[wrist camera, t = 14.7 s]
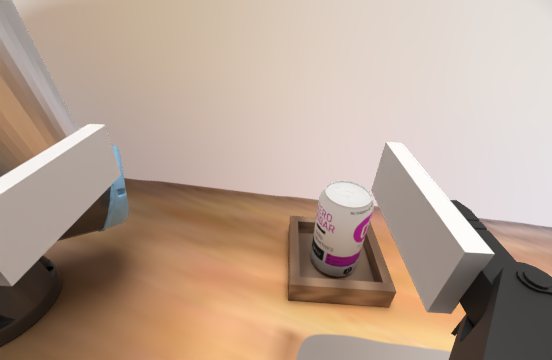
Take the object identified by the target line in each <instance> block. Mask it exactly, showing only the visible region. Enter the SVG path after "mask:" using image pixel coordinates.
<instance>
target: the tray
mask: <svg viewBox="0 0 552 360" xmlns="http://www.w3.org/2000/svg"><path fill="white" fill-rule="evenodd" d="M315 222H316V217H300V216H290V225H289V286H288V300H291V301H305V302H320V303H334V304H349V305H363V306H378V307H389V306H390V304H391V302H392V300H393V298H394V296H395V293H396V290H395V287H394V284H393V282H392V279H391V276H390V274H389V271H388V268H387V266H386V263H385V260H384V258H383V255H382V252H381V250H380V247H379V244H378V242H377V239H376V236H375V234H374V231H373V228H372V226H371V223H370V222H369V226H368V229H367V232H366V235H365V239H364V242H363V245H362V248H361V251H360V255H359V258H358V261H357V264H356V267H355V269H354V270H353V272H351V273H350V274H348V275H346V276H339V277H337V276H331V275H328V274H325V273H323V272H321V271H320V270H319V269H318V268H316V267H315V265H314V264H313V262H312V261H311V255H310V253H311V246H312V240H313V234H314V228H315Z"/></svg>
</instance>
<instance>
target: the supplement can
mask: <svg viewBox="0 0 552 360" xmlns="http://www.w3.org/2000/svg"><path fill="white" fill-rule="evenodd" d="M373 206H374V205H373V202H372V196H371V194H370V192H369V191H368V190H367V189H366V188H365V187H363V186H361V185H359V184H357V183H354V182H350V181H335V182H332V183H330V184H328V185H327V186H326V188H325V189H324V191H323V192H322V193H321V195H320V198H319V204H318V210H317V216H316V222H315V228H314V234H313V240H312V246H311V253H310V255H311V261H312V262H313V264H314V265H315V267H316V268H318V269H319V270H320V271H321V272H323V273H325V274H328V275H331V276H337V277H339V276H346V275H348V274H350V273H351V272H353V270H354V269H355V267H356V264H357V261H358V258H359V255H360V251H361V248H362V245H363V242H364V239H365V235H366V232H367V229H368V226H369V222H370V219H371V216H372V213H373Z"/></svg>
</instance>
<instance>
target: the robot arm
mask: <svg viewBox="0 0 552 360" xmlns="http://www.w3.org/2000/svg"><path fill="white" fill-rule="evenodd" d="M372 193H373V195H374V197H375V199H376V201H377V203H378V206H379V208H380V210H381V212H382V215H383V217H384V219H385V221H386V223H387V226H388V228H389V230H390V232H391V234H392V237H393V239H394V241H395V243H396V245H397V248H398V250H399V252H400V254H401V256H402V259H403V261H404V263H405V265H406V267H407V270H408V272H409V274H410V276H411V278H412V281H413V283H414V285H415V287H416V289H417V292H418V294H419V296H420V298H421V300H422V303H423V305H424V307H425V309H426V311H427V312H433V313H449V314H451V313H452V312H453V310H454V309H455V308H456V306H457V305H458V304H459V302H460V304H461V305H462V307H463V309H464V310H465V312H466V315H465V316H464V318H463V319H462V320H461V321H460V323H459V324H458V325H457V327H456V328H455V329H454V330H453V332H452V333H451V334H453V335H454V336H455V335H456V334H457V336H456V339H455V342H454V345H453V348H452V351H451V354H450V358H449V360H552V277H551V276H550V275H548V274H547V273H545V272H543V271H542V270H540V269H538V268H536V267H534V266H531V265H528V264H525V263H521V262H516V261H515V260H514V258H513V257H512V256H511V255H510V254H509V253H508V252H507V251H506V249H505V248H504V247H503V246H502V245H501V244H500V243H499V242H498V240H497V239H496V238H495V237H494V236H493V235H492V234H491V233H490V232H489V231H487V228H486V227H485V226H484V225H483V224H482V223H481V222H479V219H478V218H477V217H476V216H475V215H474V214H473V213H472V211H471V210H470V209H468V208H467V207H465V206H464V205H462V204H461V203H460V202H458V201H457V200H449V199H448V197H447V196H446V195H445V194H444V193H443V191H442V190H441V189H440V188H439V186H438V185H437V184H436V183H435V182H434V180H433V179H432V178H431V177H430V176H429V174H428V173H427V172H426V171H425V170H424V168H423V167H422V166H421V165H420V164H419V163H418V161H417V160H416V159H415V158H414V156H413V155H412V154H411V153H410V152H409V150H407V148H406V147H405V146H404V145H403V144H402V143H393V142H386V144H385V147H384V150H383V153H382V157H381V160H380V163H379V167H378V170H377V173H376V177H375V180H374V184H373V186H372ZM128 216H129V207H128V200H127V194H126V189H125V181H124V175H123V170H122V163H121V158H120V153H119V149H118V147H116V146H114V145H112V144H111V141H110V138H109V134H108V131H107V128H106V126H105V125H98V124H88V125H86V126H85V127H83V128H80V127H77V126H76V125H75V123H74V121H73V119H72V117H71V115H70V113H69V111H68V109H67V107H66V105H65V103H64V102H63V99H62V97H61V95H60V93H59V91H58V90H57V88H56V86H55V84H54V82H53V80H52V78H51V76H50V74H49V72H48V70H47V68H46V66H45V64H44V62H43V60H42V58H41V56H40V54H39V52H38V50H37V48H36V47H35V45H34V43H33V41H32V39H31V37H30V35H29V33H28V31H27V29H26V27H25V25H24V23H23V21H22V19H21V17H20V15H19V13H18V11H17V9H16V7H15V5H14V4H13V2H12V0H0V346H1V345H3V344H5V343H7V342H9V341H10V340H12V339H14V338H15V337H17V336H18V335H20V334H21V333H23V332H24V331H26V330H27V329H28V328H30V327H31V326H32V325H33V324H34V323H36V322H37V321H38V320H39V319H40V318H41V317H42V316H43V315H44V314H45V313H46V312H47V311H48V310H49V308H50V307H51V306H52V305H53V303H54V302H55V300H56V299H57V297H58V295H59V293H60V290H61V286H62V277H61V274H60V272H59V271H58V269H57V267H56V266H55V264H54V263H53V262H52V261H51V260H49V259H48V258H46V257H44V256H43V254H44V253H45V252H46V251H47V250H48V249H49V248H50V247H51V246H52V245H53V244H54V243H55V242H56V241H59V240H63V239H67V238H71V237H75V236H79V235H83V234H87V233H91V232H95V231H104V230H106V229H107V228H110V227H113V226H116V225H120V224H122V223H124V222H125V221H126V220H127V219H128Z"/></svg>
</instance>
